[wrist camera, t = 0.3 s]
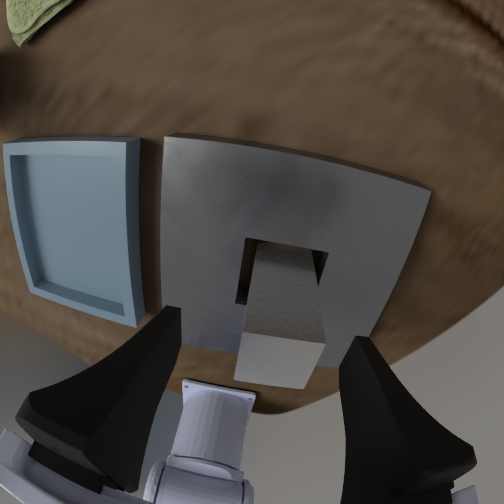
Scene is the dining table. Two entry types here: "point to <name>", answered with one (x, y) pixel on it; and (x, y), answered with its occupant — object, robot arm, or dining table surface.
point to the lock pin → (281, 318)
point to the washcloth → (30, 16)
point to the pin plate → (279, 233)
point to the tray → (79, 221)
